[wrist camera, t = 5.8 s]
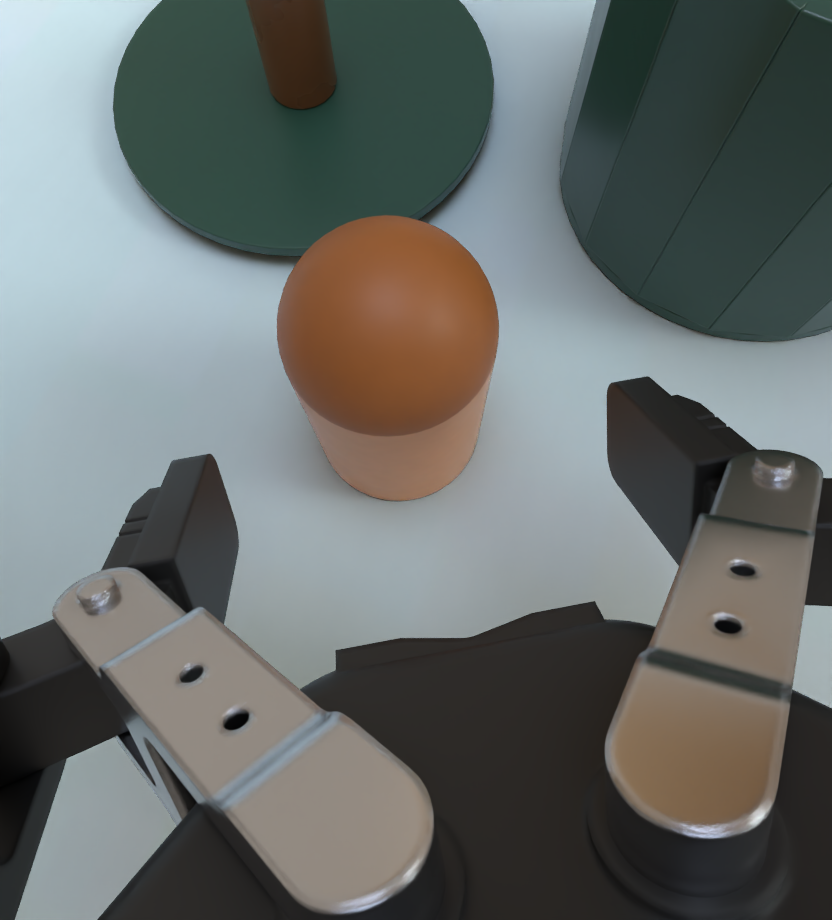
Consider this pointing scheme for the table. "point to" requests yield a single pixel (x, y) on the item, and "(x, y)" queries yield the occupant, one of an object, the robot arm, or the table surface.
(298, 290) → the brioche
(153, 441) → the table surface
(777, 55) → the pot
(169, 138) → the lid
